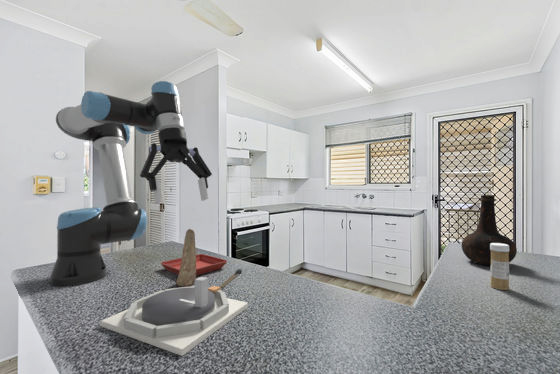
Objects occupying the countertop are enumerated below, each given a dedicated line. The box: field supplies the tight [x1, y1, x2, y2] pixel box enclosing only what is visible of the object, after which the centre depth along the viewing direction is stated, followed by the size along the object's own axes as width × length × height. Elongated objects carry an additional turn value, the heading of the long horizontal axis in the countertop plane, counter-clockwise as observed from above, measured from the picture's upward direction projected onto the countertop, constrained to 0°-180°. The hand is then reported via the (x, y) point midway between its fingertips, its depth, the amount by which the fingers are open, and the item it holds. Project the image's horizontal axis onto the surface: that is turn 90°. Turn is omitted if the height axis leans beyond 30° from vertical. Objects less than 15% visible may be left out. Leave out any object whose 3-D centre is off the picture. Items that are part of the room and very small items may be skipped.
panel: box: [100, 285, 249, 357], centre depth 63 cm, size 24×22×4 cm
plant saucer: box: [160, 253, 228, 276], centre depth 101 cm, size 18×18×3 cm
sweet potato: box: [175, 228, 197, 288], centre depth 84 cm, size 6×18×6 cm
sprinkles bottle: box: [490, 243, 510, 291], centre depth 82 cm, size 5×5×14 cm
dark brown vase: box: [460, 194, 518, 267], centre depth 109 cm, size 18×18×28 cm
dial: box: [142, 276, 215, 326], centre depth 63 cm, size 16×16×8 cm
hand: (183, 201), depth 75 cm, fingers open, 13 cm apart
